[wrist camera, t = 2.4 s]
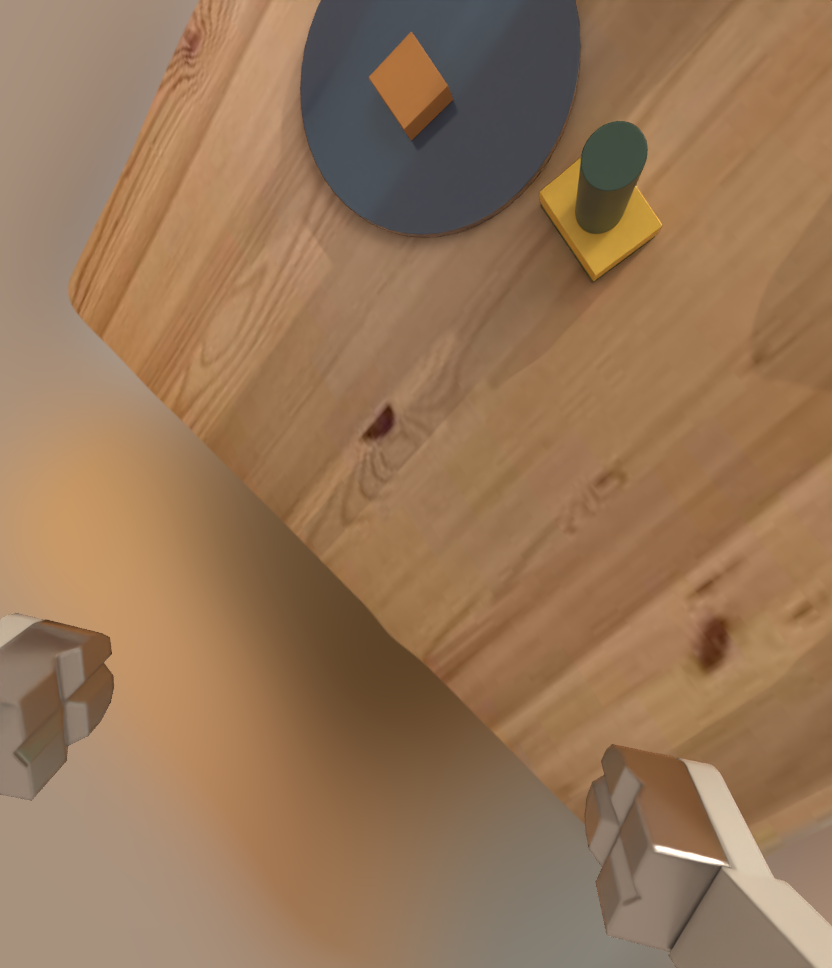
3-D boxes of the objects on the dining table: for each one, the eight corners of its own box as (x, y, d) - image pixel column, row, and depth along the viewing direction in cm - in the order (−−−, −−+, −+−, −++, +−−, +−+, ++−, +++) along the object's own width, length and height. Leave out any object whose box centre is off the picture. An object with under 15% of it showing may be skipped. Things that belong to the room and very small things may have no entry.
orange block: (418, 47, 37) (411, 30, 35) (453, 99, 37) (448, 85, 35) (377, 91, 38) (367, 76, 36) (411, 141, 38) (403, 129, 37)
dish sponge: (540, 205, 38) (533, 136, 27) (600, 155, 36) (620, 58, 25) (592, 282, 38) (607, 247, 27) (655, 236, 36) (699, 177, 25)
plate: (307, -67, 38) (301, -78, 37) (601, -112, 33) (602, -126, 32) (304, 237, 43) (299, 234, 42) (559, 238, 38) (559, 234, 37)
